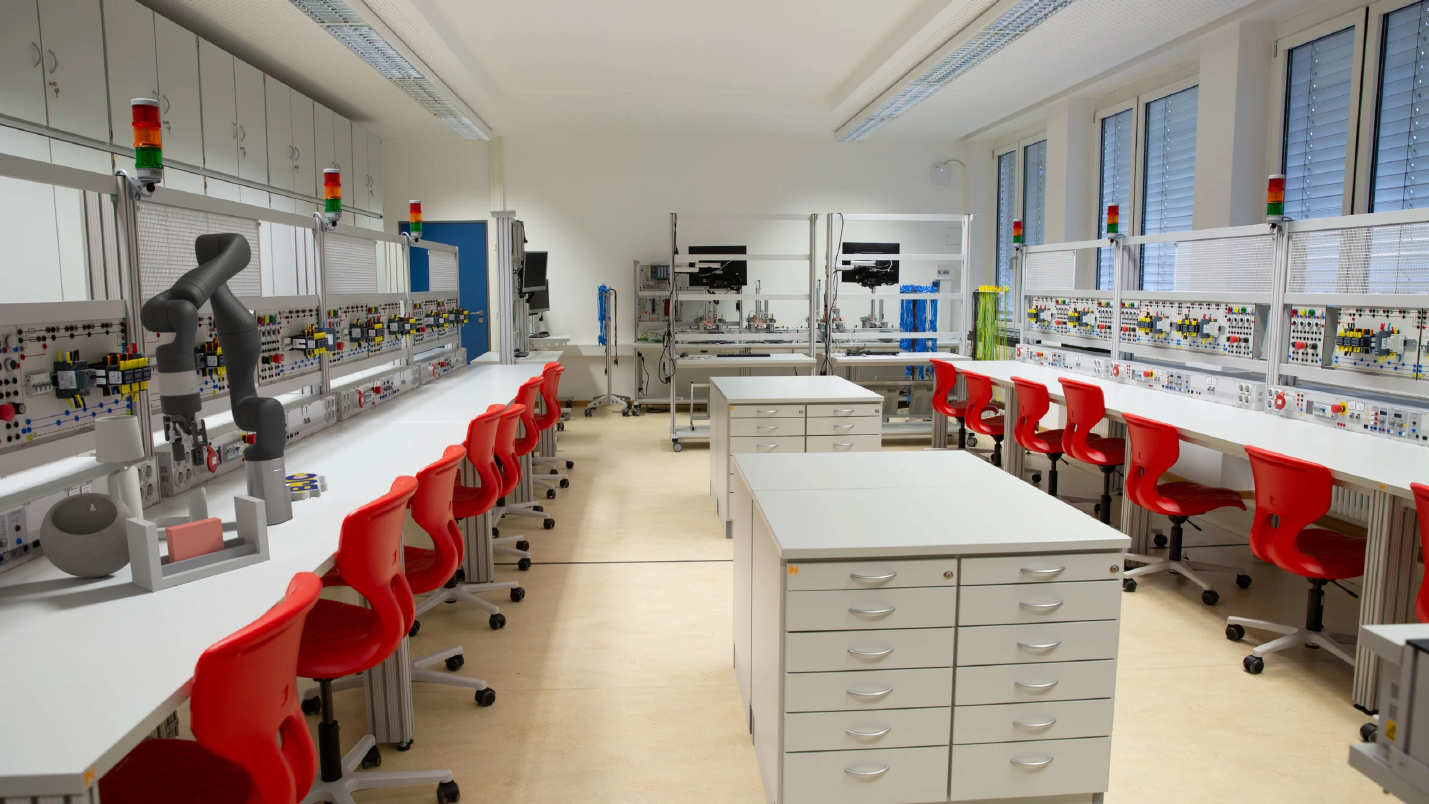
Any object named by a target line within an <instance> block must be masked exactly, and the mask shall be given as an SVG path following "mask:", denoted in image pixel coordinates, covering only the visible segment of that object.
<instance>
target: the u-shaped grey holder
mask: <svg viewBox="0 0 1429 804" xmlns="http://www.w3.org/2000/svg"><path fill="white" fill-rule="evenodd" d="M233 503H234V512H235V513H234V514H235V525H236V533H237V534H236V535H237V537H234V538H229V539H227V540H226V539H225V540H223V542H224V550H221V551H217V552H213V553H209V554H205V555H201V556H197V557H194V558H190V559H186V560H182V561H178V562H174V563H170V564H169V556H168V554H166V555H162V556H161V553H160V552H161V551H160V544H159V543H160V542H159V539H158V533H157V524H155V522H152V521H149V520H146V519H144V518H143V519H141V518H138V517H131V518H127V519H125V523H126V531H127V539H128V548H129V556H130V562H129V563H130V570H131V571H130V574H131V581H132V583H133V584H135V585H137V586H139V587H141V588H143V589H146V590H147V589H148V591H150V592H152V593H155V591H156V592H159V591H162V589H163V590H166V589H169V588H173V587H176V586H175V585H177V586H180V585H179V584H181V585H183V584H188V583H191V582H195V581H199V580H202V579H205V578H206V579H207V578H210V577H213V576H217V575H220V574H223V573H227V572H229V571H234V570H238V569H242V568H244V567H248V566H252V565H256V564H259V563H263V562H266V561H270V560H271V558H270V557H271V556H270V547H269V546H270V545H269V543H270V542H269V536H268V534H269V533H268V525H267V522H266V511H265V500H262V499H258V498H255V497H251V496H248V494H244V493H242V494H236V495H233ZM158 590H159V591H158Z"/></svg>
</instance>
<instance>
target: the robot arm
mask: <svg viewBox="0 0 1429 804" xmlns="http://www.w3.org/2000/svg"><path fill="white" fill-rule="evenodd" d="M249 243H250V242H249V241H248V240H247V238H246V237H245V236H244V235H242V234H240V233H237V232H236V233H235V232H221V233H220V232H219V233H206V234H200V235H198V236H197V237H196V239H195V241H194V252H195V253H194V254H195V259H196V262H197V265H198V266H196V267H194V268H192V269H190V270H188V271H187V272H185V273H184V274H182V275H181V276H180V277H179V278H178V279H177V280H176V281H175V282H174V284H172V286H171V287H169V288H168V289H165V290H163V291H162V292H159V293H158V294H156V295H154V296H153V297H151V298H149V299H148V300H147V301H146V302H145V303H144V304H143V306H142V307H141V310H140V312H139V313H140V314H139V319H140V322H141V325H142V326H143V328H145V330H147V331H148V332H151V333H155V334H169V333H170V334H172V333H175V337H174V340H173V341H172V342H168V343H164V344H161V345H158V346H157V347H156V348H155V360H156V367H157V368H156V369H157V386H158V393H159V400H160V401H159V402H160V408H161V413H162V414H163V416H162V420H163V421H162V423H163V431H164V434H163V435H164V439H165V442H169V445H171V449H172V450H171V452H172V457H173V461H174V462H177V463H178V462H181V461H185V460H186V452H185V445H184V442H185V443H187V444H188V446H189V448H190V456H191V463H192V466H194V467H198V466H203V465H205V457H204V449H203V448H205V447H207V446H209V441H208V440H209V439H208V436H207V435H208V434H207V430H206V429H207V428H206V421H205V419H204V418H201V419H197V416H196V413H198V412H199V413H200V412H201V411H202V409H203V405H202V397H201V390H200V383H199V377H198V374H197V370H196V369H197V368H196V362H195V361H196V360H195V353H194V352H195V350H194V349H195V344H196V336H197V330H198V328H199V317H200V316H199V312H198V311H200V309H201V308H202V307H203V306H204V304H205V303H207V301H208V300H209V301H210V307H211V309H212V310H211V311H212V315H213V318H214V319H213V320H214V323H215V324H214V325H215V330H216V333H217V334H216V335H217V338H218V342H219V347H220V350H221V354H222V357H223V363H224V367H225V374H226V379H227V383H228V390H229V400H230V408H231V414H232V418H233V422H234V423H235V425H236V427H237V428H238V429H239V430H240V431H243V432H247V433H255V442H254V444H252V445H249V446H247V447H245V448H244V450H243V459H244V471H245V480H246V481H245V482H246V489H247V491H246V492H247V496H251V497H255V498H258V499H262V500H265V511H266V522H267V526H271V525H277V524H281V523H282V524H283V523H285V522H287V521H288V520H290V519H291V520H292V519H294V516H293V504H292V500H291V491H290V484H289V483H286V476H287V475H286V465H285V447H286V443H287V435H286V431H287V430H286V428H287V427H286V412H285V410H284V409H285V408H284V406H283V405H282V402H281V401H279V400H278V399H277V398H274V397H266V396H264V397H263V396H261V397H260V396H258V393H257V390H256V384H255V370H256V367H257V365H258V363H259V360H260V357H261V352H262V339H261V335H260V331H259V330H260V329H259V325H258V322H257V320H256V318H255V316H254V315H253V313H251V311H250V310H249V309H248V308H247V307H246V306H245V305H244V304H243V303H242V302H241V301H240V300H239V299H238V298H237V297H236V296H235V295H234V293H233V292H232V290H231V289H230V287H229V285H228V283H227V282H228V281H229V280H231V279H232V278H233V277H234V276H237V275H238V274H239V273H240V272H242V271H243V270H245V269H246V268H247V267H248V266H249V264H250V263H251V259H252V249H251V245H250V244H249Z"/></svg>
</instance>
